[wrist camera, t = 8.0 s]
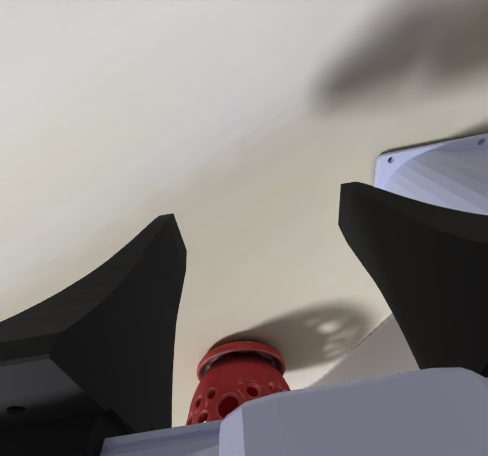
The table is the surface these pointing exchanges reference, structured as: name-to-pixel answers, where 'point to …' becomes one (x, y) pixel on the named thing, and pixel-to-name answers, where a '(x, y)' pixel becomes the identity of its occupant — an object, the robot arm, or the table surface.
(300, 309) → the table surface
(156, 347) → the robot arm
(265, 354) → the plant pot
